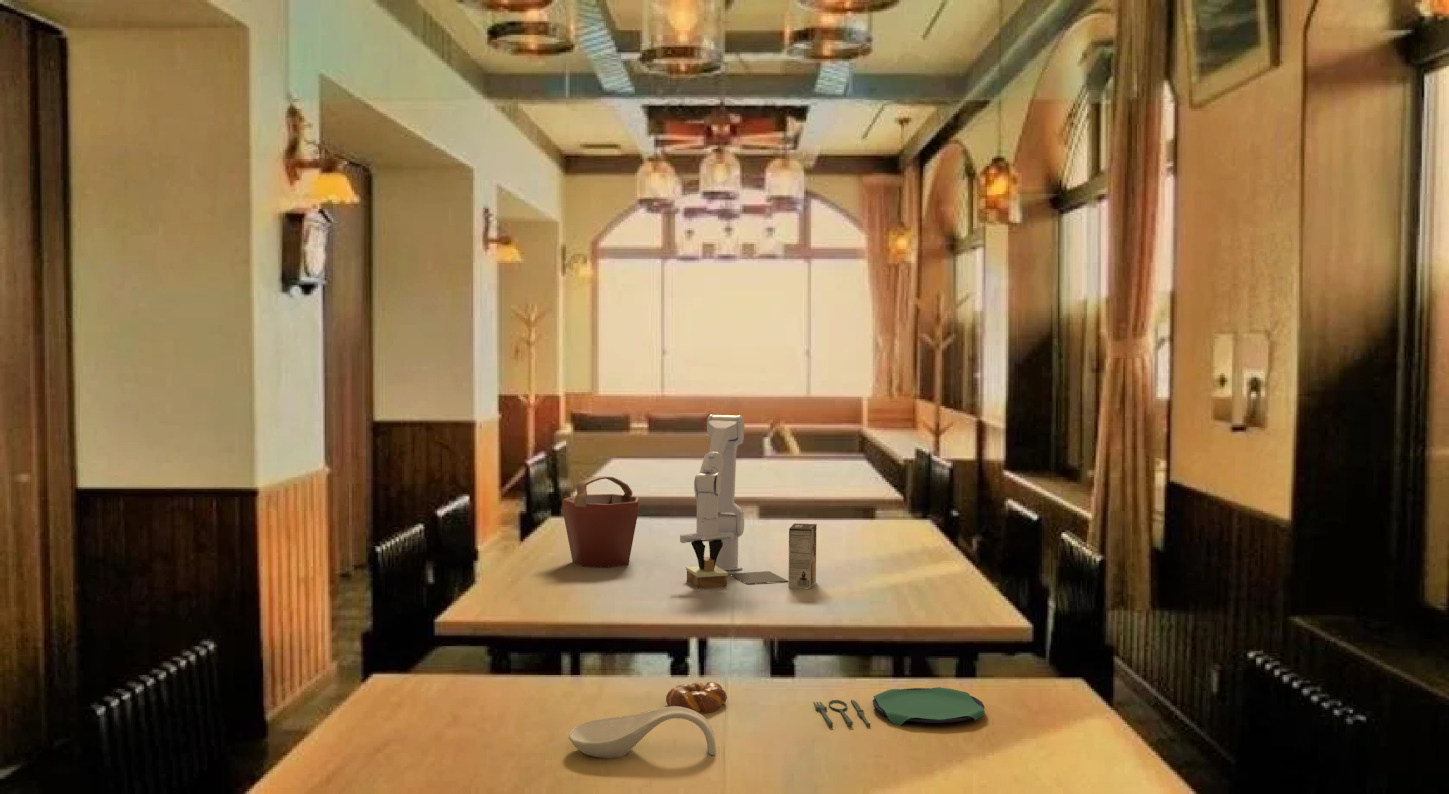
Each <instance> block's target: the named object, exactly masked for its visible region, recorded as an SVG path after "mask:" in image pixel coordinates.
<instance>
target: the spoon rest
mask: <svg viewBox="0 0 1449 794" xmlns="http://www.w3.org/2000/svg"><path fill="white" fill-rule="evenodd" d="M672 719H683V720H686V721H689V722H691V723H693V724H695V725H696V726H697V727H698V728H700V730H701V732H703V735H704V736H705V740H706V746H707V751H708V754H709V755H710V756H715V755H716V752H717V749H716V748H717V746H716V738H715V733H714V729H713V727H712V724H711V723H710V721H708V719H707V718H706V717H705V716H703V715H702V713H700V712H696V711H694V710H691V709H688V708H684V707H679V706H670V707H669V706H665V707H664V706H663V707H660V708H655V709H652V710H649V711H644V712H639V713H635V714H634V713H633V714H628V715H624V716H613V717H606V718H599V719H594V720H593V719H592V720H588V721H585V722H583V723H580V724H578V725H576V726H575V727H573V728H571V730H570V731H569V733H568V740H569V741H570V742H571V744H572V745H573V746H574V748H576V749H577V750H578V751H580V752H581V753H583V754H585V755H587V756H591V757H594V758H599V759H613V758H619V757H623V756H625V755H626V754H628V753H629V752H630V751H631V750H632V749H633V748H634V747H635V746H637V744H638V743H639V742H641V740H643V738H644V737H645V736H647V734H648V733H650V732H651V731H652V730H654V728H656V727H657V726H658V725H660V724H661V723H663V722H667V720H672Z"/></svg>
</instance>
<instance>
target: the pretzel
mask: <svg viewBox="0 0 1449 794" xmlns="http://www.w3.org/2000/svg"><path fill="white" fill-rule="evenodd" d="M727 698H728V696H727V692H726V691H725V690H724V689H723V687H722V686H721V685H720V684H719V683H717V682H715V681H713V682H712V681H710V682H707V683H706V684H705V685H704V684H703V683H702V682H694V683H691V684H688V683H687V684H686V683H684V684H679V685H676V686H675V687H673V688H671V689H670V690H669V691H668V692H667V694H666V695H665V703H666V704H667V707H670V706H679V707H684V708H688V709H691V710H694V711H696V712H698V713H699V714H709V713H710V714H711V713H714V712H716V711H717V710H718V709H719V708H721V707H722V706H723V705H724V704H726V702H727Z"/></svg>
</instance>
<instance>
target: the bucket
mask: <svg viewBox="0 0 1449 794" xmlns="http://www.w3.org/2000/svg"><path fill="white" fill-rule="evenodd" d="M600 480H608V481H610V482H612V483H614V484H615V485H617V486H619V487H620V488H621V490H622V491H623V493H624V494H616V493H599V494H598V493H597V494H596V493H595V494H594V493H593V494H588V491H587V486H588V485H590V484H593V483H594V482H597V481H600ZM561 504H562V514H563V519H564V524H565V529H566V535H567V541H568V544H569V550H570V551H569V552H570V556H571V560H572V563H574V564H576V565H577V566H580V567H582V568H583V567H584V568H585V567H586V568H601V569H603V568H604V569H605V568H606V569H609V568H614V567H615V568H616V567H623V566H624V567H625V566H629V565H630V564H629V563H630V558H631V554H632V547H633V542H634V537H635V532H636V526H637V520H638V516H639V509H640V496H635V495H633V490H632V489H631V487H630V486H629V484H627V483H626V482H623V481H622V480H620V479H618V478H616V477H613V476H607V475H605V476H604V475H601V476H591V477H589V478H586V479H583V480H581V481H579V482H576V494H575V495H574V496H573V495H572V496H569V497H565V498H562V503H561Z"/></svg>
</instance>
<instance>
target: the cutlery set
mask: <svg viewBox="0 0 1449 794" xmlns="http://www.w3.org/2000/svg"><path fill="white" fill-rule="evenodd" d="M850 703H851V704H852V706H853V707H854V709H855V710H856V714H857V716H858V717H860V718H862V720H863V721H864V722H865V725H866V728H870V727H871V723H870V722H869V721H868V720H867V718H866V715H865V711H864V709H862V708H861V706H860V704H859V703H858V701H856V700H854V699H850ZM833 704H837V705H838V704H840V705H841V706H843V708H837V707H833V706H831V705H833ZM872 705H873V708H874V709H876V710H877V711H878V712H879V713H880V714H882V715H886V716H887V719H888V720H889V721H890V722H891V723H892V724H893V725H897V726H902V725H903V724H904V723H905V722H915V723H926V724H928V723H931V724H934V723H935V724H941V723H942V724H945V723H956V722H962V721H966V720H973V721H976V720H978V719H980V718H983V717H984V715H985V712H986V711H985V705H984V703H983V701H981V700H980V699H979V698H976V697H975V696H972V695H970V693H969V692H966V691H963V690H960V689H959V690H958V689H953V688H948V687H947V688H946V687H940V686H936V687H931V688H930V687H929V688H928V687H926V688H925V687H921V688H920V687H913V688H903V689H902V688H901V689H900V688H891V689H887V690H885V691H882V692H880V693H877V694H876V695H873V700H872ZM813 706H814V710H815V711H816V712H819V713H821V715H822V717H823V719H824V721H825V723H826V724H827V726H828V728H833V727H834V722H833V721H832V719H831V717H829V716H828V714H827V710H828V707H827V706H825V705H824V704H823V703H822V701H819V702H818V701H816V702H815V701H813ZM828 706H829V708H831V710H834V711H838V712H839V713H840V714H841V715H842V717H843V719H844V720H845V722H846V724H847V726H848V727H849V726H853V724H854V722H853V720H852V719H851V718H850V717H849V716H848V714H847V713H846V712H845V710H846V709H847V707H848V704H847V703H846V702H845V701H842V700H839V699H831V700H830V701H828Z"/></svg>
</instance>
